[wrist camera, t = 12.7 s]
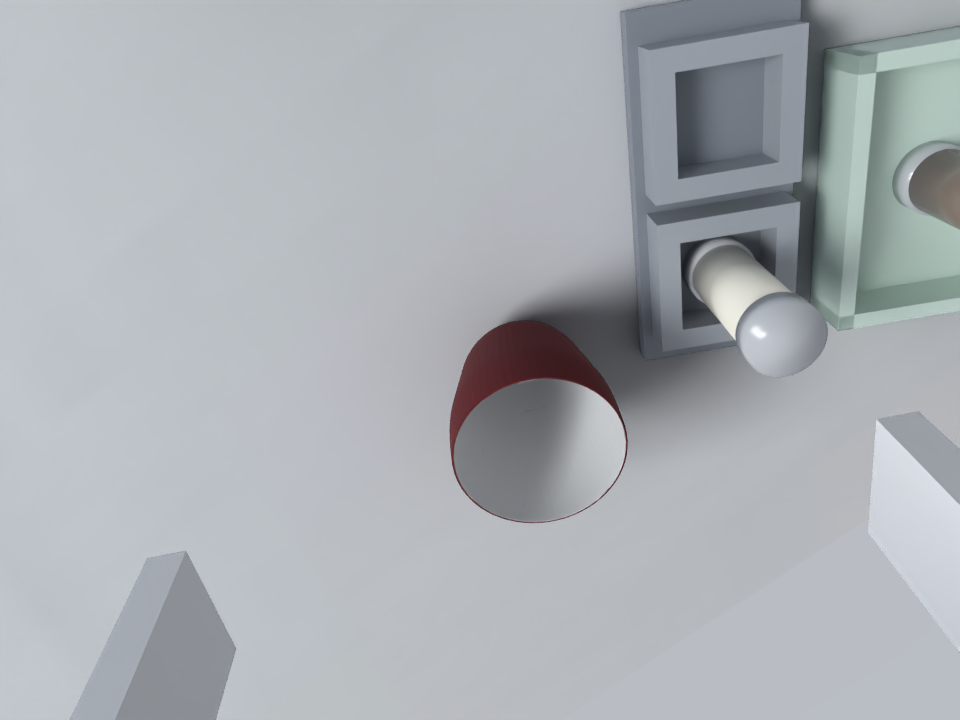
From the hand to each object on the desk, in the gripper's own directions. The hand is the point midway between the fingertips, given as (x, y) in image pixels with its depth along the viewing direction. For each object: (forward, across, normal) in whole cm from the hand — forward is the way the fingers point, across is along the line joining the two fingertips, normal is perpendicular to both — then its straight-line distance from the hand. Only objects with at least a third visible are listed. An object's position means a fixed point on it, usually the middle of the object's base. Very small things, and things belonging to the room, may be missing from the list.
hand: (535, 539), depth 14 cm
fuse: (+26, +12, -7) cm, 29 cm away
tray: (+26, +23, -4) cm, 35 cm away
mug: (+27, +1, -11) cm, 29 cm away
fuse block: (+26, +12, -3) cm, 29 cm away
